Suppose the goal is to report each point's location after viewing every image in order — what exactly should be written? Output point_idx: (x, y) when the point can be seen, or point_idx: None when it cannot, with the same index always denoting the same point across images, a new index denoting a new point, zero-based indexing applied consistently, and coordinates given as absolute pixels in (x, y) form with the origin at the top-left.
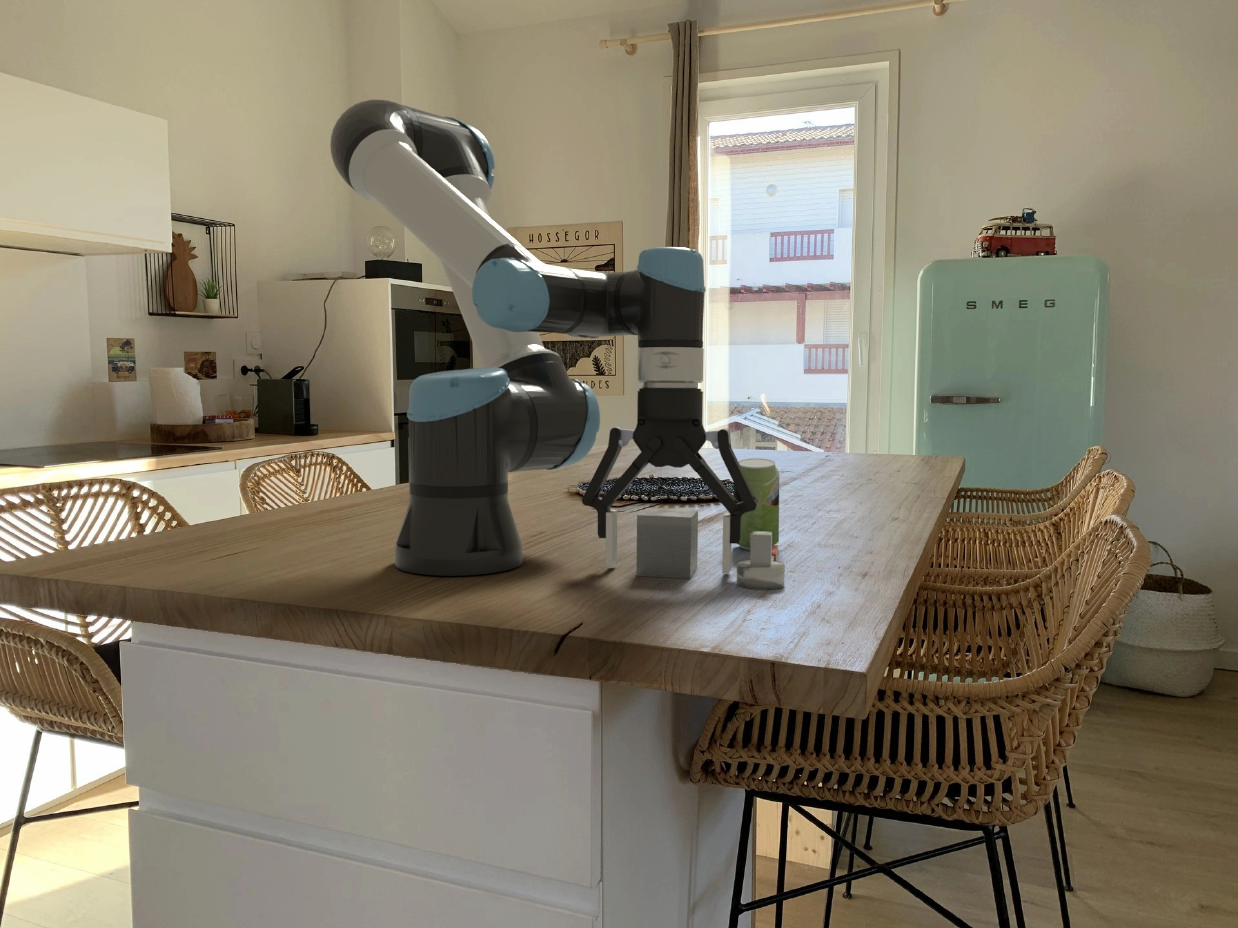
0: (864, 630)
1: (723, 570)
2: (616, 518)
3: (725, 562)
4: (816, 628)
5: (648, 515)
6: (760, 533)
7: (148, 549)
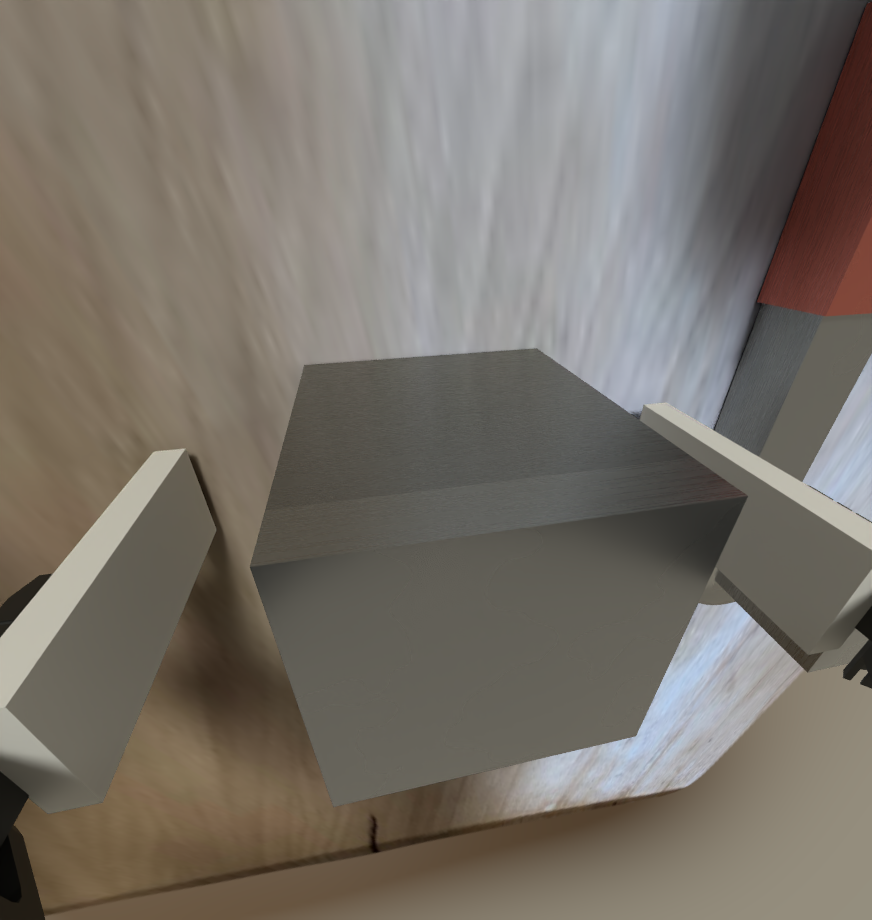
0: (761, 697)
1: None
2: (69, 656)
3: None
4: (701, 714)
5: (402, 788)
6: (850, 649)
7: None
